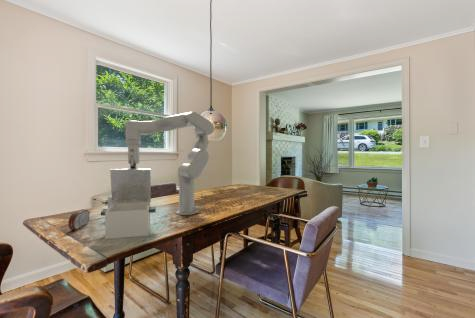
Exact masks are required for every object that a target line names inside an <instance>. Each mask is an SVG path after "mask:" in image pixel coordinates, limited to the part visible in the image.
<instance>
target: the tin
mask: <svg viewBox="0 0 475 318" xmlns="http://www.w3.org/2000/svg"><path fill="white" fill-rule="evenodd" d="M89 220H90V211H89V210H88V209H80V210H78V211H75V212H72V214H71V215H70V216H69V217H68V225H67V227H68V229H69V230H71V231H72V230H76V231H77V230H79V229H81V228H82V227H85V226H86V225H87V224H88V223H89Z"/></svg>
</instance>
